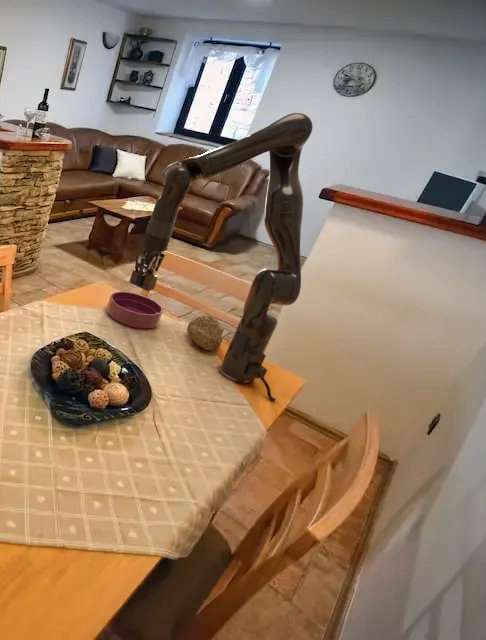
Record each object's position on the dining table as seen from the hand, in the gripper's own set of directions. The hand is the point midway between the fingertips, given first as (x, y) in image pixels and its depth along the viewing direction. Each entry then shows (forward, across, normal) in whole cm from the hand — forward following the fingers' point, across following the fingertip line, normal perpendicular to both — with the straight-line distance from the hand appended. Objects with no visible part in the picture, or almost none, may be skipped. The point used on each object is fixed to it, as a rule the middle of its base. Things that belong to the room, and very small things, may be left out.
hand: (142, 284), depth 159 cm
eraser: (0, 0, 0) cm, 0 cm away
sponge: (+16, -17, +19) cm, 30 cm away
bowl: (+15, -8, -4) cm, 18 cm away
